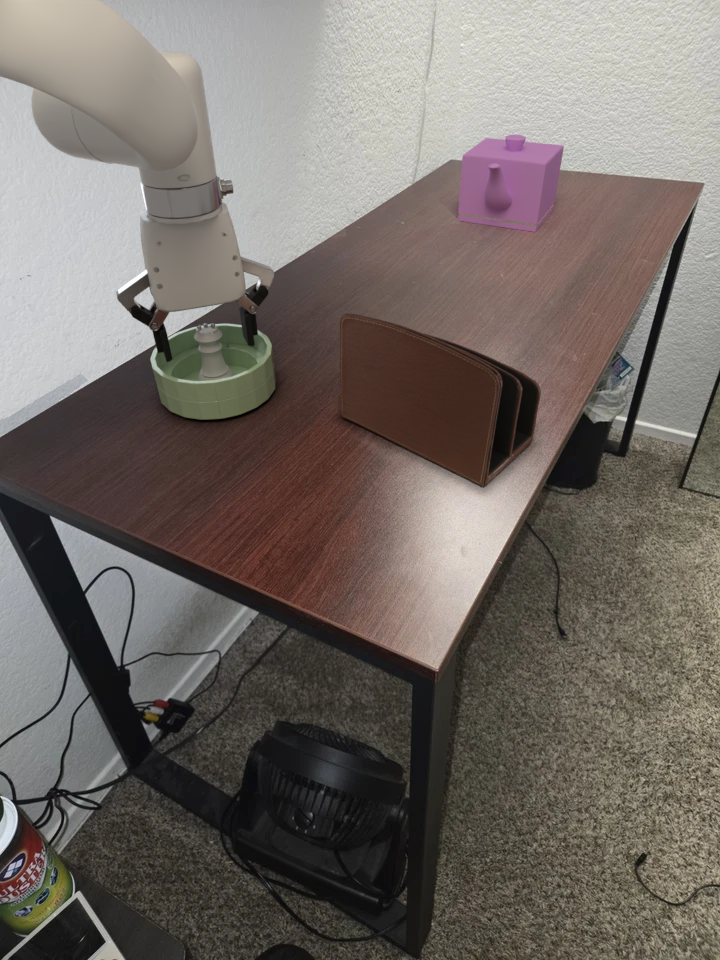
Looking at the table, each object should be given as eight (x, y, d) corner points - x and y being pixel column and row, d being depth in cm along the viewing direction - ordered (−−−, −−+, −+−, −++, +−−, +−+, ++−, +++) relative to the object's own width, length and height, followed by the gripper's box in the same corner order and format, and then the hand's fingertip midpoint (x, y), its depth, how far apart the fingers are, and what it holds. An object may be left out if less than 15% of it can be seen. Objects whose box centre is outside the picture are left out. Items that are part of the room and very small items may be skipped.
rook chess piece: (216, 400, 79) (205, 341, 74) (191, 389, 81) (179, 330, 76) (243, 384, 82) (234, 325, 76) (218, 373, 84) (207, 315, 78)
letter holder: (484, 489, 67) (500, 368, 58) (339, 418, 77) (333, 305, 68) (533, 443, 72) (555, 326, 63) (392, 382, 82) (394, 274, 73)
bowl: (170, 435, 75) (159, 394, 71) (153, 374, 85) (143, 336, 81) (289, 408, 79) (285, 368, 75) (260, 353, 89) (255, 315, 85)
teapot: (444, 233, 121) (449, 150, 112) (487, 193, 138) (494, 118, 129) (524, 245, 116) (536, 160, 107) (559, 202, 133) (572, 125, 124)
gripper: (256, 178, 72) (271, 322, 83) (91, 197, 67) (130, 347, 78) (274, 197, 66) (288, 349, 77) (96, 220, 62) (137, 378, 73)
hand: (209, 348), depth 78 cm, fingers open, 9 cm apart
